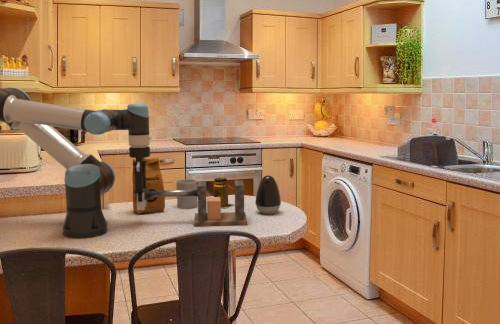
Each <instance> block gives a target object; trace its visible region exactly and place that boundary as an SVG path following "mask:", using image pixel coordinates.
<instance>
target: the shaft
mask: <svg viewBox="0 0 500 324" xmlns="http://www.w3.org/2000/svg"><path fill="white" fill-rule="evenodd" d="M143 191H144V200H148V197H165V198H169V197H170V198H172V197H173V198H175V197H176V198H177V197H182V196H197V197H198V189H197V190H177V189H176V190H175V189H173V190H171V189H170V190H169V189H167V190H165V189H164V190H163V191H148V189H147V188H143ZM136 200H137V195H136Z"/></svg>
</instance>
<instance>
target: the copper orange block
mask: <svg viewBox="0 0 500 324" xmlns="http://www.w3.org/2000/svg"><path fill="white" fill-rule="evenodd" d="M213 183H214V184H213V197H220V200H221V209H227V208H229V207H231V206H235V203H229V184H228V179H227V178H226V177H216V178H214V182H213Z"/></svg>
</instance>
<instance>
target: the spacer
mask: <svg viewBox="0 0 500 324" xmlns="http://www.w3.org/2000/svg"><path fill="white" fill-rule="evenodd" d="M206 206H207V220H218V219H221V213H222V212H221V209H222V208H221V200H220V197H214V196H209V197H208V196H206Z"/></svg>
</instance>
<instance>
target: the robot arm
mask: <svg viewBox="0 0 500 324" xmlns="http://www.w3.org/2000/svg"><path fill="white" fill-rule="evenodd" d="M126 107H127V108H126V109H125V108H124V109H106V108H104V109H103V108H102V109H98V110H97V109H96V110H93V109H86V108H79V107H72V106H66V105H59V104H52V103H47V102H46V103H45V102H39V101H32V100H31V98H30V96H29V95H28V93H26V92H25V91H23V90H22V89H20V88H15V87H5V88H4V87H3V88H0V123H5V124H6V125H7V126H9V128H10V129H12V130H14V131H15V130H20V132H21V133H23V134H24V135H25V136H26V137H28V138H29V139H30V140H32V142H34V143H35V144H36V145H37V146H38V147H39V148H41V149H42V150H44V152H45V153H47V154H48V155H49V156H50V157H51V158H53V159H54V160H55V161H56V162H57V163H58V164H60V165H61V166H62V167H63V168H65V169H66V170H65V172H64V188H65V190H64V191H65V203H66V204H65V205H66V215H65V217H64V218H65V219H64V221H63V224H62V235H63V236H64V237H66V238H70V237H71V238H73V239H85V238H93V237H99V236H102V235H104V234H106V233H107V232H108V231H109V230H108V229H109V228H108V222H107V220H106V218H105V217H106V216H104V213H103V210H102V209H103V208H102V195H104V194H106V193H108V192H109V191H110V189H112V188H113V186H114V184H115V182H116V173H115V170H114V169H113V168H114V167H112V166H111V164H109V163H107V162H105V161H100V160H99V159H98V158H97V157H95V156H94V155H93V154H90V153H89V154H85V153H84V152H83V151H82V150H81V149H80V148H78V147H77V146H76V145H75V144H74V143H72V142H71V141H70V140H69V139H68V138H66V136H64V135H63V134H62V133H60V132H59V130H58V129H56V128H61V129H68V130H75V131H82V132H87V133H89V134H91V135H95V136H96V135H98V136H99V135H104V134H105V133H108V132H112V131H128V134H127V135H128V146H129V148H128V154H129V157H130V158H132V159H134V158H135V159H136V161H135V162H134V169H135V188H136V190H135V191H134V193H136V195H137V210H145V207H146V200H144V191H143V188H147V189H148V187H146V161H144V159H146V158H149V157H150V156H151V147H150V143H151V142H150V140H152V137H151V136H150V116H149V106H148V105H147V104H146V103H145V104H144V103H130V104H128V105H127V106H126Z"/></svg>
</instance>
